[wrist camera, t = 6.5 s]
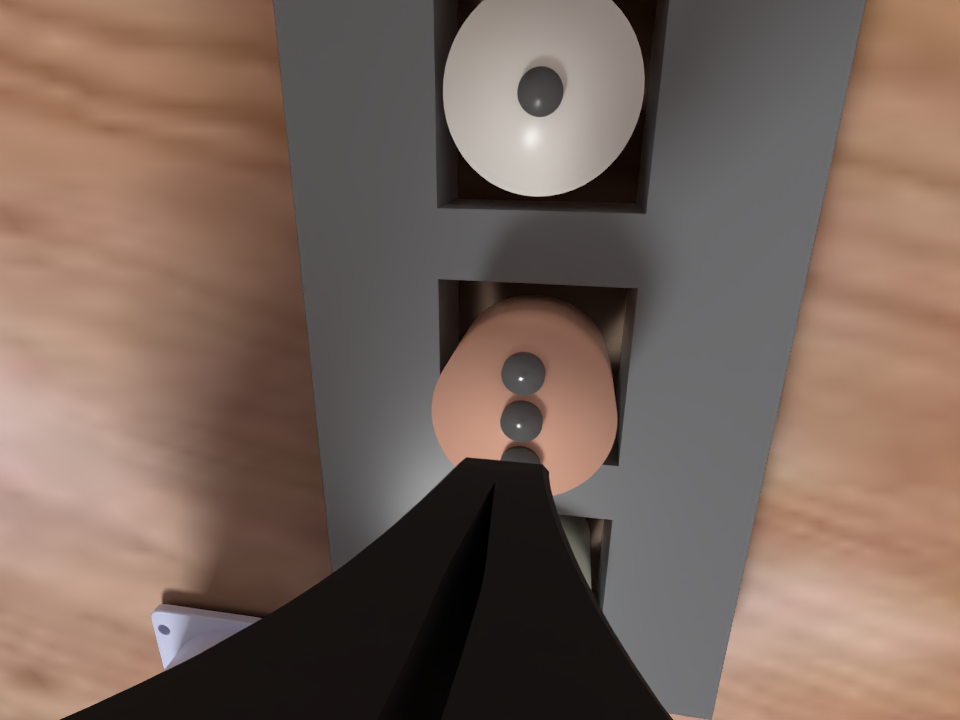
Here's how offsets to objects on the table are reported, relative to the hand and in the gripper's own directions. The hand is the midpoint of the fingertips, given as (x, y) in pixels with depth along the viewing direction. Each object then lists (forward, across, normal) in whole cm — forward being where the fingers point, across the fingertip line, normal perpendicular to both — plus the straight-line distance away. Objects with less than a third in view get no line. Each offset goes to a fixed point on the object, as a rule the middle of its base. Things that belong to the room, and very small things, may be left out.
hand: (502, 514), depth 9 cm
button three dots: (+6, 0, 0) cm, 6 cm away
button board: (+8, 0, 0) cm, 8 cm away
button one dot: (+8, 0, -7) cm, 10 cm away
